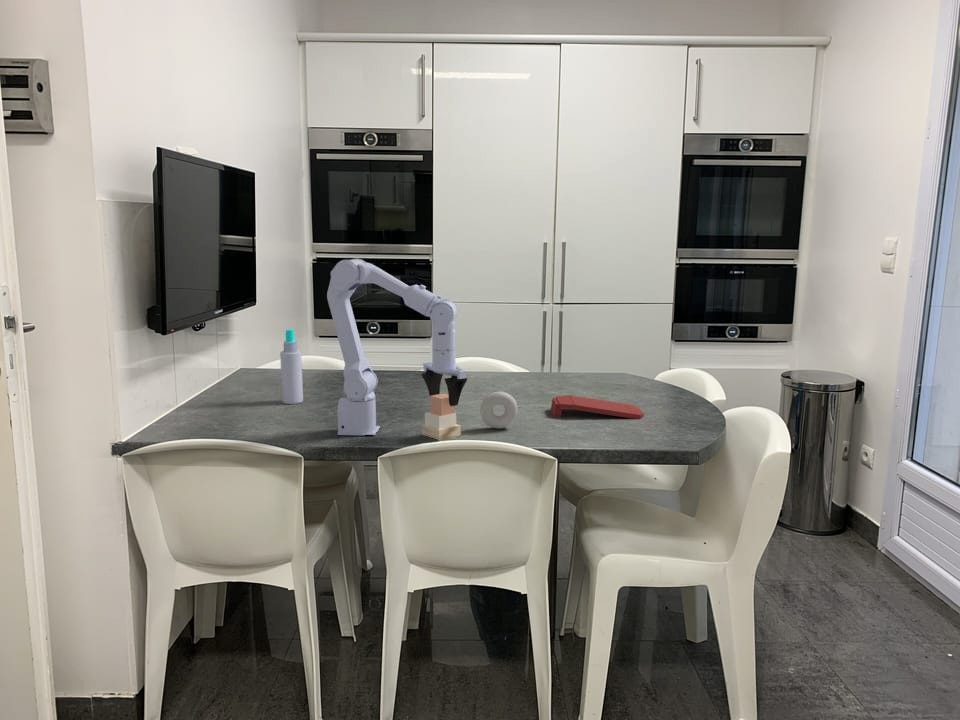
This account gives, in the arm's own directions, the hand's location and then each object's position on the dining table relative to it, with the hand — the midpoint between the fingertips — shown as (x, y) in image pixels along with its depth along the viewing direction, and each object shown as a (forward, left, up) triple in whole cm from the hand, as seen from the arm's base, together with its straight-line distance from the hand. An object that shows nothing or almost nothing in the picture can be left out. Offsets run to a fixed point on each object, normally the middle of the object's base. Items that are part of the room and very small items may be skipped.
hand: (444, 402), depth 183 cm
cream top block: (-1, 0, -6) cm, 6 cm away
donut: (+14, +8, -9) cm, 18 cm away
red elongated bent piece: (+41, +27, -9) cm, 50 cm away
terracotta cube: (0, 0, -3) cm, 3 cm away
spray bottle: (-50, +33, -9) cm, 60 cm away
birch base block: (-1, 0, -9) cm, 9 cm away
